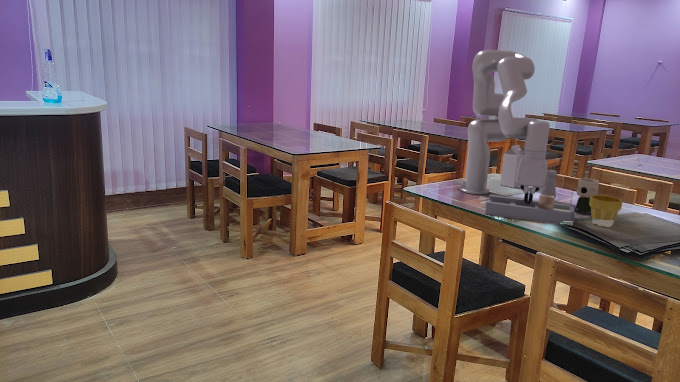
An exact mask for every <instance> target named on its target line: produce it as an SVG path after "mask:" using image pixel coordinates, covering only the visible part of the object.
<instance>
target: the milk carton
mask: <svg viewBox="0 0 680 382" xmlns="http://www.w3.org/2000/svg"><path fill="white" fill-rule="evenodd" d="M520 145H521V144H516V145H511V148H510V149H508V150H507V151H506V152H504V153H503V156H502V157H503V158H502V165H501V166H502V167H501V173H500V181H499V185H500V186H504V187H507V188H508V187H509V188H513V189H515V188H517V187H516V186H515V183H516V177H517V171H518V166H519V162H520V159H521V157H523V155H522V154H520V150H521V151H522V150H523V149H522V148H521V146H520Z"/></svg>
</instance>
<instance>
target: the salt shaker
mask: <svg viewBox="0 0 680 382" xmlns="http://www.w3.org/2000/svg"><path fill="white" fill-rule="evenodd" d="M557 176H558V171H557V170H554V169H547V177H546V184H545V188H546V189H545V190H541V192H540V194H541V195H549V196H554V199H556V197H557V191H556V189H557V187H556V186H557V185H556V177H557Z"/></svg>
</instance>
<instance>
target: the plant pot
mask: <svg viewBox="0 0 680 382" xmlns="http://www.w3.org/2000/svg"><path fill="white" fill-rule="evenodd" d="M589 205H590V206H591V215H590V216H591V219H592V218H596V219H602V220H616V218H617V215H618V213H619V211H621V210H622V207H623V200H622V199H621V198H619V197H616V196H612V195H611V196H610V195H606V194H605V195H604V194H598V195H592V196H590V202H589Z"/></svg>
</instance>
